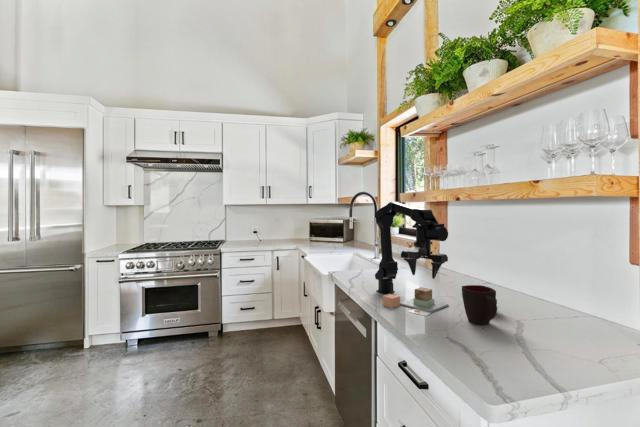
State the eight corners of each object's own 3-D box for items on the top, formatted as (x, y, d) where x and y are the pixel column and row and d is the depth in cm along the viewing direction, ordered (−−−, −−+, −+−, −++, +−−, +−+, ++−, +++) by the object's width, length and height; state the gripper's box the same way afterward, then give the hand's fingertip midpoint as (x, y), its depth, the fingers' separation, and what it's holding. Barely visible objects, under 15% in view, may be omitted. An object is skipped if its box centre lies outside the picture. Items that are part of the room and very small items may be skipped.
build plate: (399, 304, 134) (399, 298, 134) (418, 298, 143) (418, 292, 143) (429, 313, 123) (429, 306, 123) (448, 305, 132) (448, 299, 132)
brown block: (414, 298, 133) (414, 289, 133) (421, 296, 136) (421, 287, 136) (425, 301, 129) (425, 291, 129) (432, 299, 132) (432, 289, 132)
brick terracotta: (382, 305, 134) (382, 295, 134) (390, 303, 137) (390, 293, 137) (392, 308, 130) (392, 298, 130) (399, 305, 133) (399, 296, 133)
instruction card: (408, 312, 124) (408, 311, 124) (414, 309, 128) (414, 308, 128) (426, 316, 120) (426, 314, 120) (431, 312, 124) (431, 311, 124)
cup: (483, 317, 118) (483, 284, 118) (508, 331, 105) (508, 294, 104) (457, 318, 118) (457, 285, 117) (479, 332, 104) (479, 295, 104)
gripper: (392, 239, 134) (392, 276, 135) (433, 242, 120) (433, 283, 120) (408, 237, 142) (408, 272, 142) (448, 240, 127) (448, 279, 128)
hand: (423, 276), depth 133 cm, fingers open, 9 cm apart
